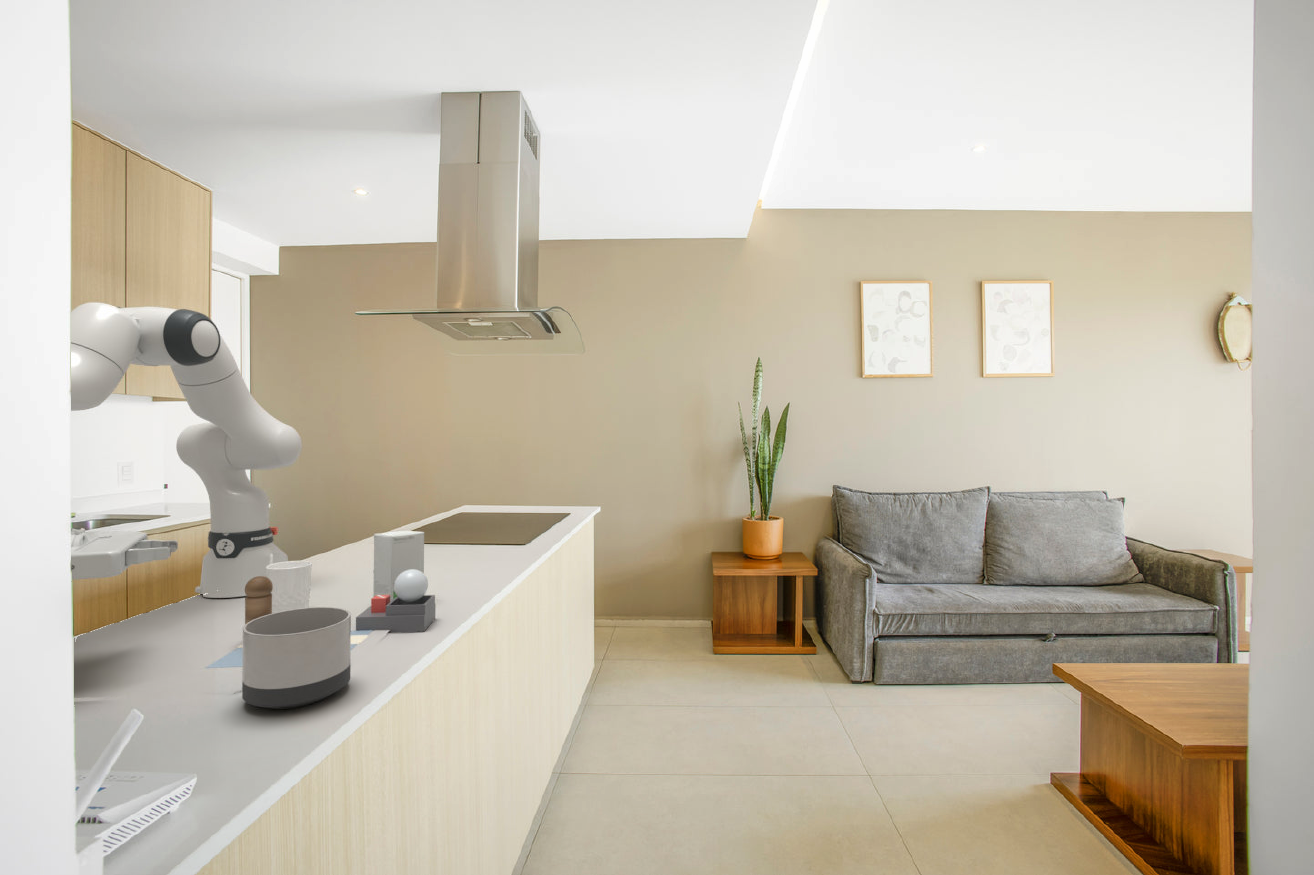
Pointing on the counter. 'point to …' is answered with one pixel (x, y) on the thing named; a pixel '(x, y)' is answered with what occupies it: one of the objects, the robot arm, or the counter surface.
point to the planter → (296, 656)
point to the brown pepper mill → (258, 598)
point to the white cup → (290, 584)
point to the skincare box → (396, 558)
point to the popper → (397, 614)
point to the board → (236, 656)
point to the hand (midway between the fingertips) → (173, 549)
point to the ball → (411, 585)
